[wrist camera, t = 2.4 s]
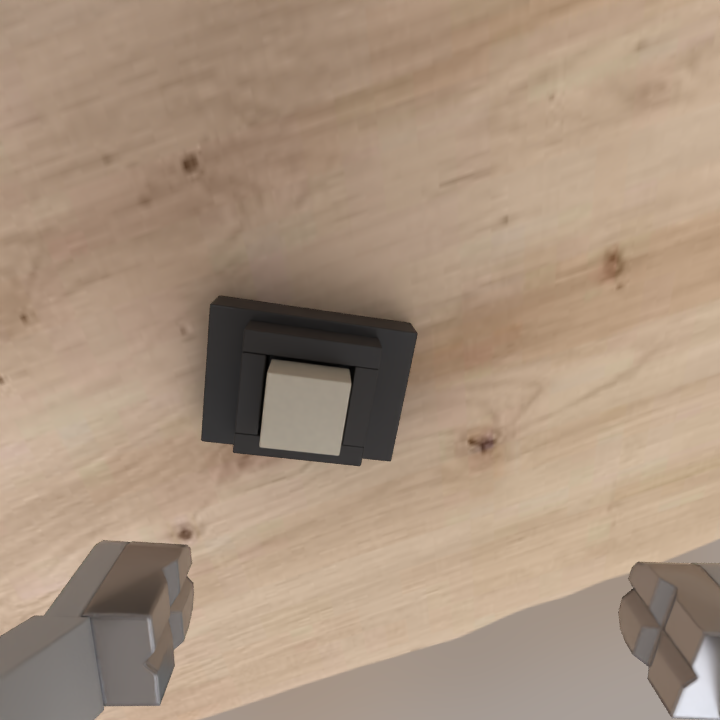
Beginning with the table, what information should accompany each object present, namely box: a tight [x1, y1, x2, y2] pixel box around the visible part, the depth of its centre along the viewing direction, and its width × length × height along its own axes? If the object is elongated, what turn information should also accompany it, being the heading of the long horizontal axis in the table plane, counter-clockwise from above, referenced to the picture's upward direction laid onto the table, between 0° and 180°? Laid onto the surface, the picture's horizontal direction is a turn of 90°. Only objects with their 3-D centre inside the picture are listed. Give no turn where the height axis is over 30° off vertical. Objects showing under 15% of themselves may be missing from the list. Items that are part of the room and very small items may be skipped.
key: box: [259, 359, 351, 456], centre depth 24 cm, size 4×4×2 cm
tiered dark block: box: [201, 296, 417, 466], centre depth 27 cm, size 11×8×4 cm
